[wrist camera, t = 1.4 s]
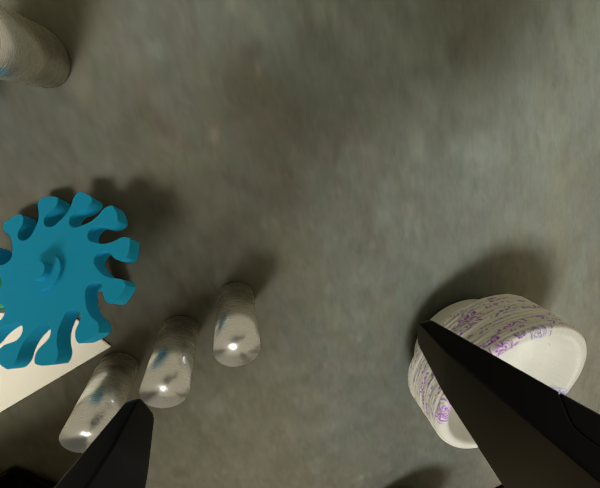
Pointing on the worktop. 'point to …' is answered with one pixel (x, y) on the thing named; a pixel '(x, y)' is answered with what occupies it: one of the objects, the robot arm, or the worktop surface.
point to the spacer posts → (174, 331)
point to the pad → (41, 368)
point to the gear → (60, 278)
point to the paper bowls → (499, 353)
